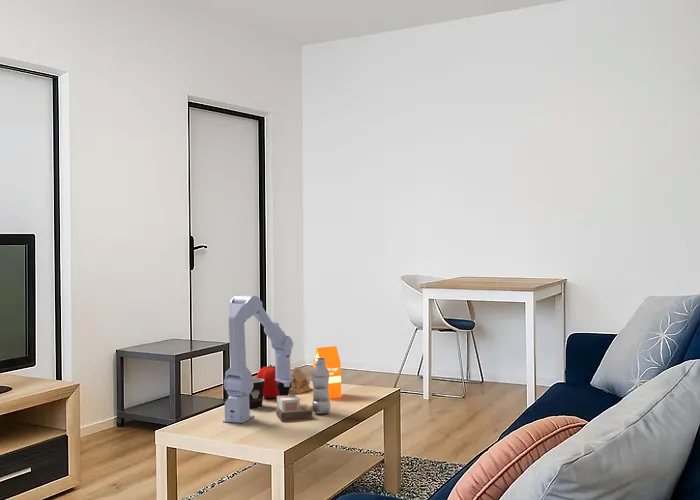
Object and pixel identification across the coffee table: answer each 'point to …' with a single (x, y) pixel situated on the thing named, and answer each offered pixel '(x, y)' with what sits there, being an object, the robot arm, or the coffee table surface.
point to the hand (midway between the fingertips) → (283, 402)
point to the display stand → (294, 414)
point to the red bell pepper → (269, 381)
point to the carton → (288, 403)
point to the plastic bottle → (320, 387)
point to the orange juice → (331, 369)
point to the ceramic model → (298, 382)
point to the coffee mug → (256, 394)
